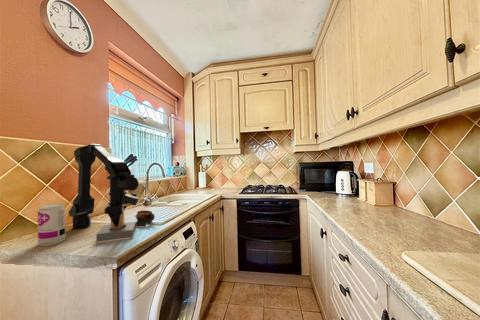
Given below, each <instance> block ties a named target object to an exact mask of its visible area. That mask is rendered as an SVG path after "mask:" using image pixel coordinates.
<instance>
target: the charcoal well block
mask: <svg viewBox="0 0 480 320" xmlns="http://www.w3.org/2000/svg"><path fill="white" fill-rule="evenodd" d="M136 222H137V221H129V222H124V229H116V230H111V223H110V224H104V225H103V226H102V227H101V228H100V230H99V231H98V232H97V233H96V235H95V236H96V243H97V244H99V243H106V242H113V241H115V242H116V241H121V240H127V239H128V240H129V239H130V240H131V239H134V236H135V233H136V230H137V227H136Z"/></svg>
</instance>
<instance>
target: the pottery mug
mask: <svg viewBox="0 0 480 320" xmlns="http://www.w3.org/2000/svg"><path fill="white" fill-rule="evenodd" d="M136 213H137V214H135V215H134V218H135V219H136V221H135V222H136V228H137V227H147V224H148V225H150V224H152V222H153V221H154V220H155V214H154V213H153V211H151V210H145V209H144V210H138V211H137V212H136Z"/></svg>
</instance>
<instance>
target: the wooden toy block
mask: <svg viewBox="0 0 480 320" xmlns="http://www.w3.org/2000/svg"><path fill="white" fill-rule="evenodd" d="M124 223H125V211H123V212H122V213H121V214H120V219H119V225H118V227H115V225H114V224H113V222H112V220H111V219H110V224H111V230H116V229H124Z"/></svg>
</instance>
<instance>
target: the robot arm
mask: <svg viewBox="0 0 480 320" xmlns="http://www.w3.org/2000/svg"><path fill="white" fill-rule="evenodd" d="M73 155H74V160H75V163H77V165H78V177H77V178H78V179H77V182H78V184H77V195H76V196H75V198H74V199H73V201H72V205H71V207H70V208H69V211H68V217H71V218H72V227H71V230H77V229H87V228H88V227H90V226H91V224H92V216H91V215H90V214H93V213H94V210H95V198H94V197H93V196H92V195H91V182H92V181H91V180H92V179H91V177H92V165H94V163H95V162H96V158H97V159H98V160H99V161H100V162H101V163H102V164H103V165H104V170H105V171H106V172H107V174H108V176H107V177H106V179H107V180H109V192H108V196H109V202H108V205H107V206H106V207H105V208H104V214H105V215H108V217H109V218H110V221H111V220H112V222H113V224H114V225H115V227H118V225H119V219H120V214H121V213H122V212H125V210H126V209H127V206H128V205H129V204H130V205H132V206H137V205H138V203H139V199H140V197H139V196H138V195H137V193H135V192H133V193H132V194H127V191H129V192H132V191H135V190H137V189H138V187H139V185H140V184H139V183H140V182H139V180H138V178H136V177H135V174H133V173H132V171H131V170H130V168H129V166H128V164H127V161H124V160H123V159H120V158H116V157H114V156H113V155H112V154H111V153H110V152H109V151H108V150H107V149H105V148H104V146H103V145H102V144H100V143H90V144H88V145H84V146H79V147H77V148H76V149H74V151H73Z"/></svg>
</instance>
